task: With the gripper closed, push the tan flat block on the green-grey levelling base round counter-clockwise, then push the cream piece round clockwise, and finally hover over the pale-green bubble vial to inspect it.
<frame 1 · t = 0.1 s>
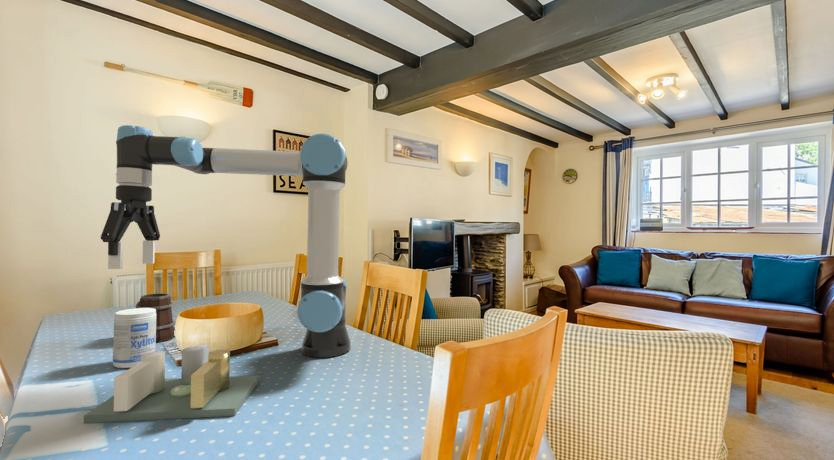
hand: (133, 266, 97), 28 cm above the table, fingers open, 13 cm apart
mug: (150, 338, 125), on the table
levelling base: (182, 399, 82), on the table
supplement tub: (134, 363, 103), on the table
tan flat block: (211, 377, 80), point 6 cm above the table, hinge at 0.0°
cream piece: (141, 380, 78), point 6 cm above the table, hinge at 0.0°
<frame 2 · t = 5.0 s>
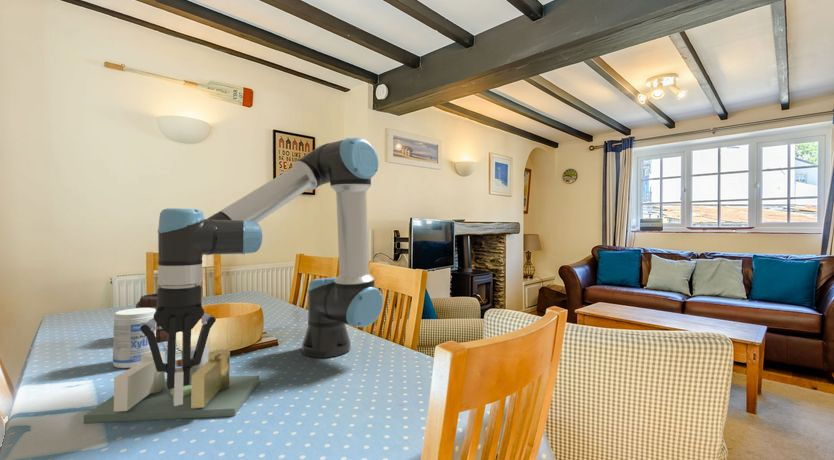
hand: (177, 402, 73), 3 cm above the table, fingers closed
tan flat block: (211, 377, 80), point 6 cm above the table, hinge at 0.6°, touching gripper
everything else where it was.
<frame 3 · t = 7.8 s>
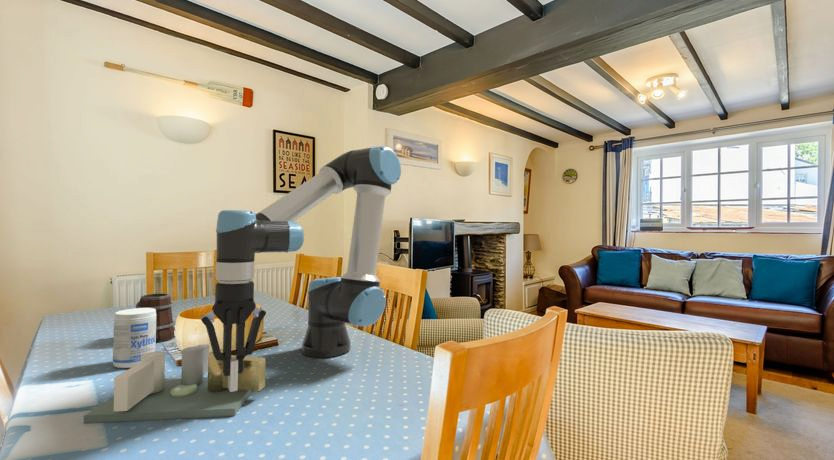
hand: (232, 388, 79), 4 cm above the table, fingers closed
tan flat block: (236, 371, 83), point 6 cm above the table, hinge at 73.7°, touching gripper
everything else where it was.
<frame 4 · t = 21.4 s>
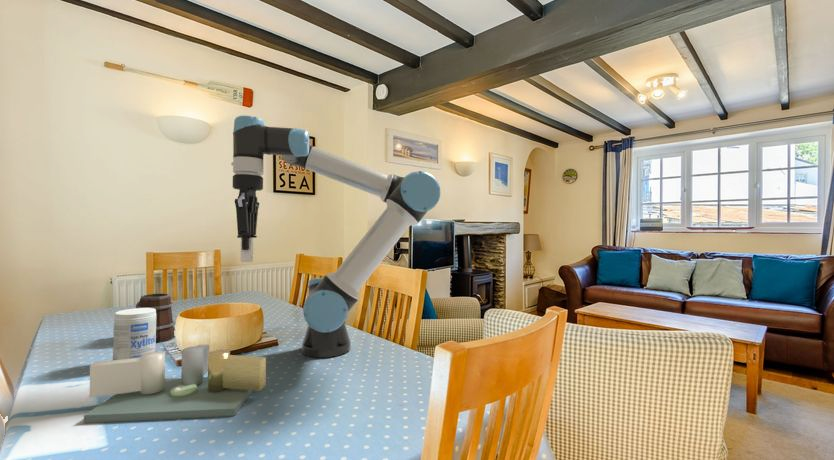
hand: (246, 261, 99), 29 cm above the table, fingers closed
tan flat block: (236, 371, 83), point 6 cm above the table, hinge at 74.9°
cream piece: (129, 374, 80), point 6 cm above the table, hinge at -74.9°
everything else where it was.
at the end: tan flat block at +75° (first picture: +0°); cream piece at -75° (first picture: +0°); the gripper is holding nothing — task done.
